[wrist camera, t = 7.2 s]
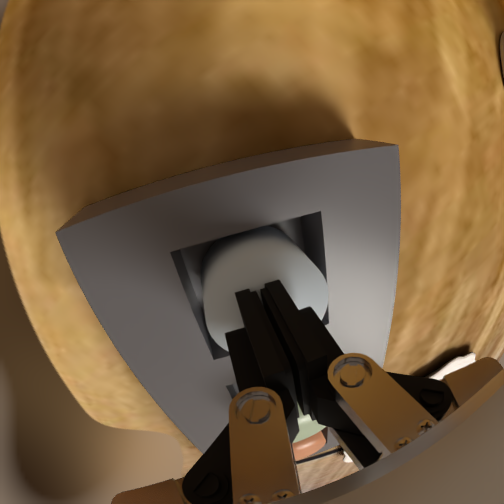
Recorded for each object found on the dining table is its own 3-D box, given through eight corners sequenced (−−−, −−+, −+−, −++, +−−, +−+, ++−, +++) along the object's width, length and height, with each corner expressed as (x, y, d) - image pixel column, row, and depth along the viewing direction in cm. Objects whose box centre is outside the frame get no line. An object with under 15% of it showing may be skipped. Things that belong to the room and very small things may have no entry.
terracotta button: (312, 402, 20) (326, 430, 17) (314, 425, 22) (325, 450, 19) (255, 420, 19) (264, 451, 16) (265, 441, 21) (273, 467, 18)
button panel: (354, 138, 13) (398, 144, 10) (350, 409, 25) (363, 433, 21) (84, 207, 11) (55, 232, 8) (223, 450, 23) (229, 477, 20)
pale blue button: (294, 212, 12) (324, 237, 9) (305, 299, 14) (330, 335, 12) (187, 242, 12) (187, 276, 9) (216, 326, 14) (224, 369, 11)
